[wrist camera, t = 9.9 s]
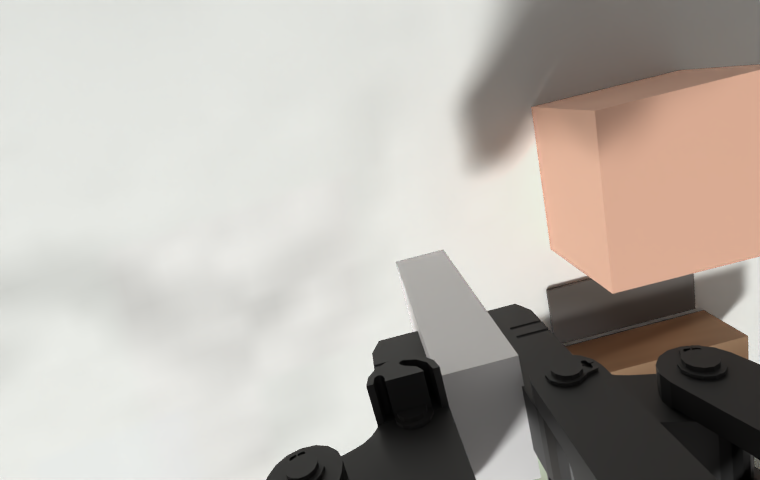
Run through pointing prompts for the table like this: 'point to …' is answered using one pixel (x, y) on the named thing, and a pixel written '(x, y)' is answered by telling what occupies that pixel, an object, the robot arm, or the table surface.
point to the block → (654, 175)
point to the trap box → (639, 345)
